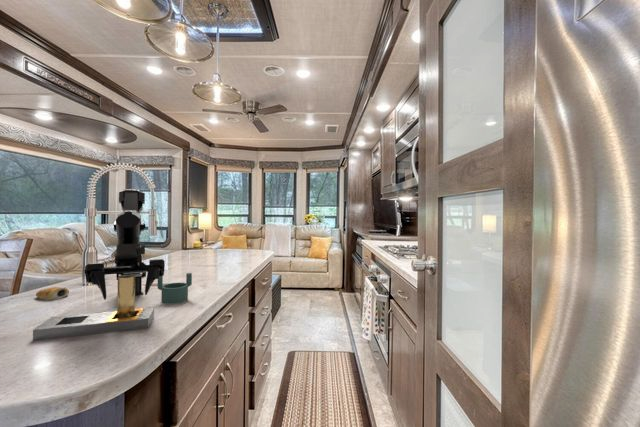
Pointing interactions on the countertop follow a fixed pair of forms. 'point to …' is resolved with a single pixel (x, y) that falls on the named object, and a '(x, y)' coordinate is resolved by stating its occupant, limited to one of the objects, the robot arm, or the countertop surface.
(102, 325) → the hole rail
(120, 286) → the brass peg
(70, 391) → the countertop surface
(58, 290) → the pastry
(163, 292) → the bracket
